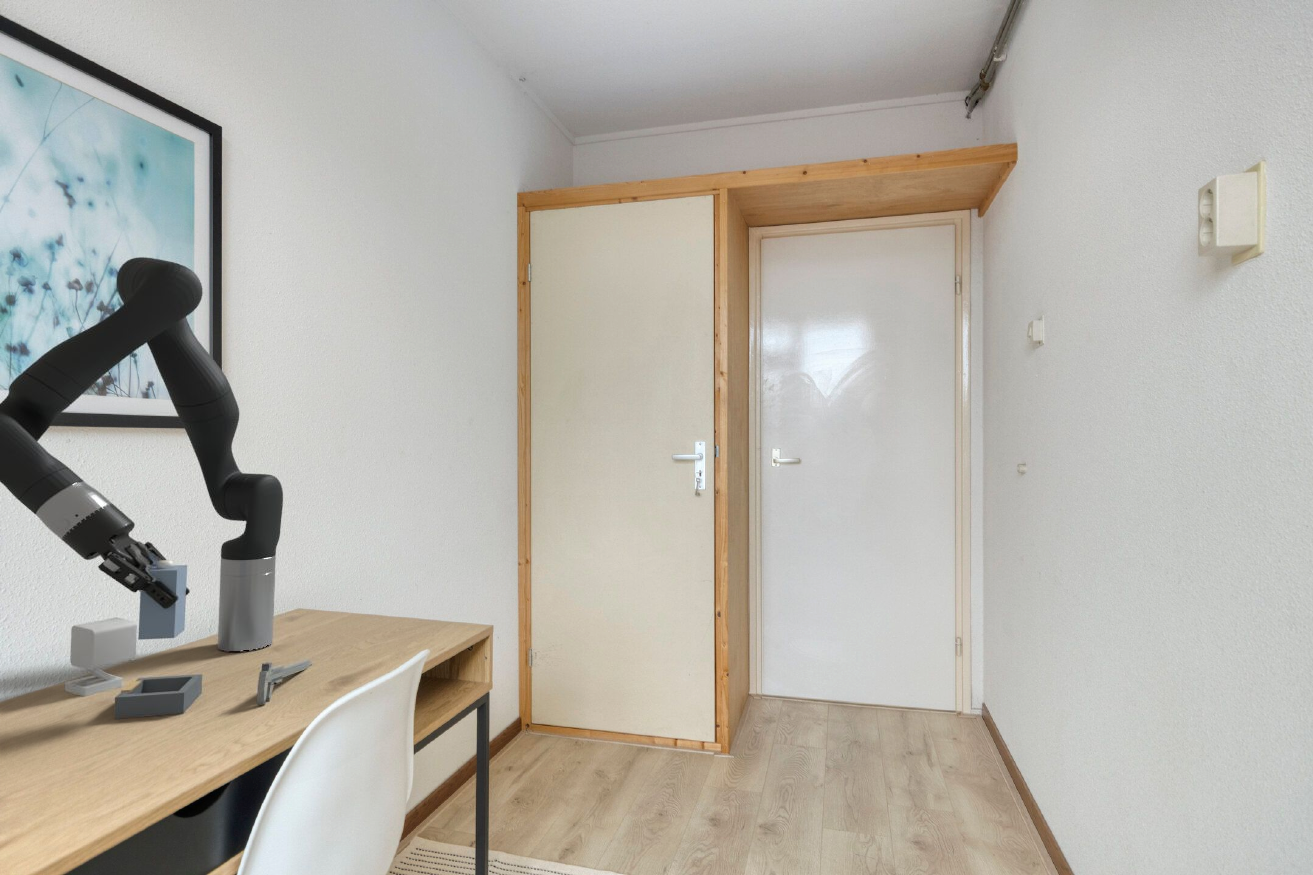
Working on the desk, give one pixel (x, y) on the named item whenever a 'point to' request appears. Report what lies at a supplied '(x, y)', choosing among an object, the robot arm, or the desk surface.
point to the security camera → (100, 653)
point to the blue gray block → (154, 616)
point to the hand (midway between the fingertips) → (178, 599)
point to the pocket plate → (158, 696)
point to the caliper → (275, 678)
